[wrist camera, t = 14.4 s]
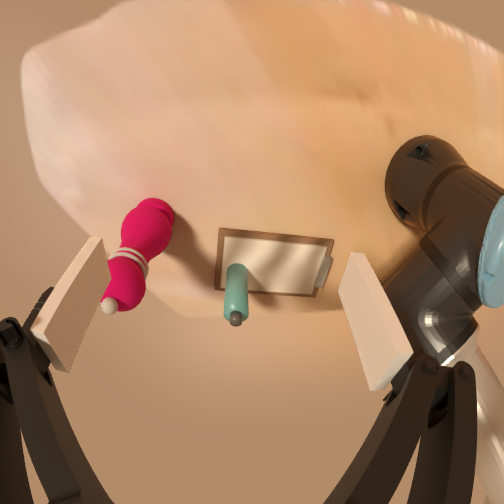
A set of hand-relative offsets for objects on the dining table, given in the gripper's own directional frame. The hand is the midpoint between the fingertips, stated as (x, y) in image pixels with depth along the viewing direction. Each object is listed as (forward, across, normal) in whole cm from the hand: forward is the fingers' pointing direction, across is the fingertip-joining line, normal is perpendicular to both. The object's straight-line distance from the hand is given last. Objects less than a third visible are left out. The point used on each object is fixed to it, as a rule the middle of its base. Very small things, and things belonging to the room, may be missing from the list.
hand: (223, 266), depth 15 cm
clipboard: (+26, -7, +19) cm, 33 cm away
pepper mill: (+26, +12, +11) cm, 31 cm away
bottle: (+25, -1, +20) cm, 32 cm away
